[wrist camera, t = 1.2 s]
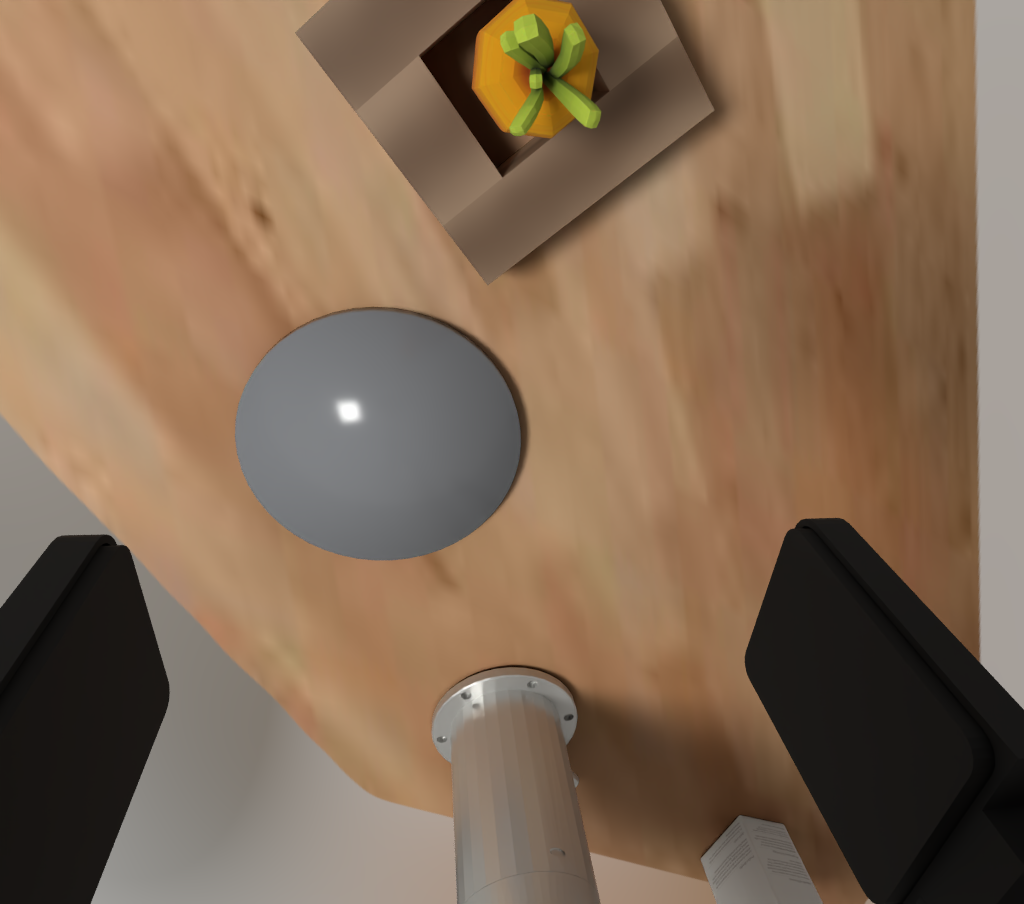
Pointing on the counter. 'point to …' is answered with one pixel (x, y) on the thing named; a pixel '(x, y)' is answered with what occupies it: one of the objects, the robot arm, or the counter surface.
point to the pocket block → (542, 161)
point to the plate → (378, 434)
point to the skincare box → (757, 866)
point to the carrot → (536, 68)
